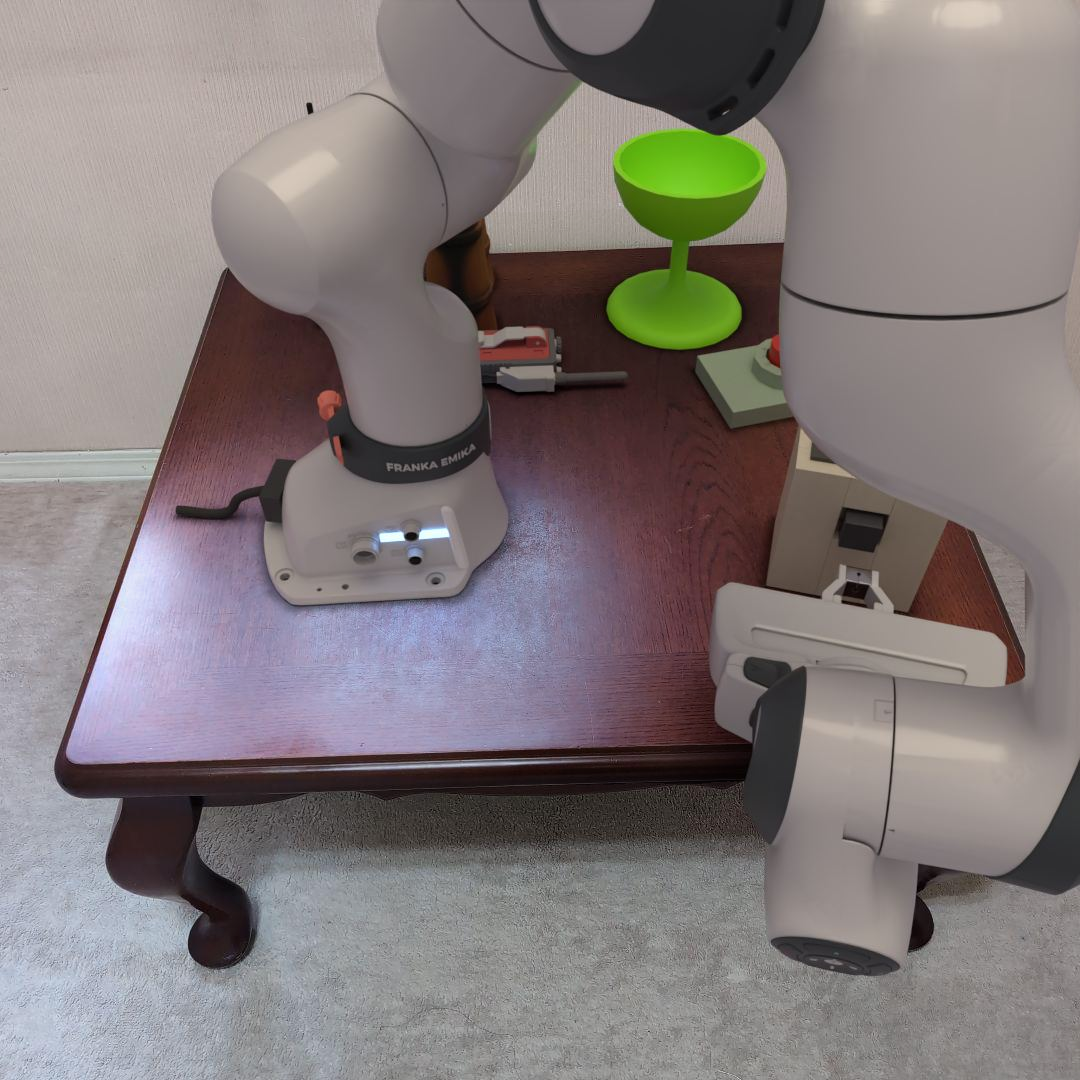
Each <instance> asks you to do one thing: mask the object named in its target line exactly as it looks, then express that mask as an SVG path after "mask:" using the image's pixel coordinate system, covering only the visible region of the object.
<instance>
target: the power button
mask: <svg viewBox="0 0 1080 1080" xmlns="http://www.w3.org/2000/svg"><path fill="white" fill-rule="evenodd" d="M882 529H883V514H881V513H875V512H869V511H864V510H858V509H852V508H846V510H845V513H844V516H843V519H842V522H841V526H840V529H839V540H838V547H843V548H849V549H854V550H860V551H865V552H871V553H874V551H875V549H876V546H877V543H878V540H879V538H880V535H881V532H882Z"/></svg>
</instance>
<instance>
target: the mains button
mask: <svg viewBox="0 0 1080 1080" xmlns="http://www.w3.org/2000/svg"><path fill="white" fill-rule="evenodd" d="M771 339H772V341H771V345H770V350H769V355H768V359H769V362H770V363H771V364H772V365H774V366H776V367H778V368H781V366H780V349H779V333H778V334H775V335H774V336H773V337H772V338H771Z"/></svg>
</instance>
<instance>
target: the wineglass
mask: <svg viewBox="0 0 1080 1080" xmlns="http://www.w3.org/2000/svg"><path fill="white" fill-rule="evenodd" d="M612 159H613V160H612V169H613V178H614V183H615V186H616V189H617V191H618V193H619V196H620V199H621V202H622V205H623V207H624V208H625V209H626V211H627V212H628V213H629V214H630V216H631V217H632V218H633V219H634V221H636V223H638V224H639V226H641V227H642V228H644V229H646V230H647V231H649V232H651V233H652V234H654V235H656V236H658V237H659V238H663V239H665V240H670V241H672V242H671V252H670V260H669V261H670V263H669V268H663V269H652V270H649V271H645V272H640V273H638V274H635V275H633V276H631V277H628V278H626V279H625V280H623V281H622V282H621V283H619V284H618V285H617V286H615V288H614V289H613V291H612V292H611V294H610V295H609V297H608V298H607V303H606V309H605V310H606V313H607V317H608V320H609V322H610V323H611V324H612V325H613V327H614V328H615V329H616V330H617V331H618V332H620V333H621V334H622V335H624V336H626V338H629V339H631V340H633V341H635V342H638V343H640V344H643V345H646V346H650V347H654V348H658V349H665V350H678V351H680V350H681V351H682V350H692V349H694V350H695V349H700V348H704V347H708V346H711V345H716V344H717V343H719V342H721V341H724V340H725V339H728V337H730V336H731V335H732V334H733V333H734V332H735V331H736V330H737V329H738V327H739V326H740V323H741V321H742V320H743V319H742V318H743V317H742V312H743V311H742V305H741V303H740V302H739V300H738V297H737V296H736V294H735V293H734V292H733V291H732V290H731V289H730V288H729V287H728V286H727V285H726V284H724V283H723V282H721V281H719V280H718V279H715V278H714V277H712V276H709V275H706V274H704V273H702V272H697V271H692V270H687V268H688V257H689V250H690V249H689V248H690V242H697V241H702V240H706V239H709V238H711V237H714V236H717V235H718V234H721V233H724V232H725V231H727V230H728V229H729V228H730V227H732V226H733V225H735V223H737V222H738V221H739V220H740V219H741V218H743V216H745V215H746V214H747V213H748V211H749V209H750V208H751V206H752V204H754V201H755V200H756V198H758V195H759V193H760V191H761V189H762V186H763V183H764V181H765V177H766V174H767V169H768V168H767V160H766V158H765V157H764V155H763V154H762V151H760V150H759V149H758V148H756V147H755V146H753V144H751V143H749V142H747V141H745V140H743V139H740V138H739V137H737V136H734V135H729V134H726V135H722V136H716V135H712V134H709V133H707V132H704V131H702V130H699V129H697V128H684V127H683V128H666V129H659V130H655V131H650V132H645V133H643V134H640V135H637V136H634V137H631V138H630V139H628V140H626V142H623V143H622V144H621V145H620V146H619V147H618V148H617V150H616V151H615V152H614V155H613V158H612Z"/></svg>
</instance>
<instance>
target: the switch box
mask: <svg viewBox="0 0 1080 1080" xmlns="http://www.w3.org/2000/svg"><path fill="white" fill-rule="evenodd" d="M771 341H772V338H766V339H765V340H764V341H762V342H761V343H759V344H757V345H752V346H751V345H750V346H746V347H740V348H735V349H734V348H733V349H729V350H722V351H717V352H711V353H705V354H700V355H697V356H696V363H695V370H694V371H695V374H696V376H697V377H698V379H699V380H700V382H701V384H702V386H703V387H704V388H705V390H706V391H707V393H708V396H709V397H710V398H711V400H712V401H713V403H714V405H715V406H716V408H717V409H718V412H719V413H720V414H721V416H722V418H723V419H724V421H725V422H726V424H727V425H728V427H729V429H736V428H741V427H746V426H752V425H753V426H754V425H757V424H763V423H768V422H773V421H779V420H784V419H789V418H794V416H793V414H792V412H791V410H790V408H789V406H788V404H787V402H786V399H785V397H784V393H783V387H782V378H781V368H778V367H776V366H774V365H772V364H771V363H770V362H769V359H768V355H769V350H770V345H771Z"/></svg>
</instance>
